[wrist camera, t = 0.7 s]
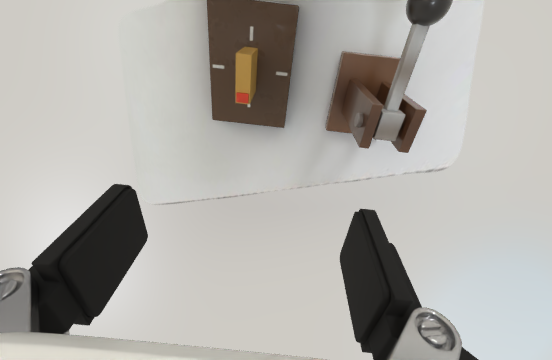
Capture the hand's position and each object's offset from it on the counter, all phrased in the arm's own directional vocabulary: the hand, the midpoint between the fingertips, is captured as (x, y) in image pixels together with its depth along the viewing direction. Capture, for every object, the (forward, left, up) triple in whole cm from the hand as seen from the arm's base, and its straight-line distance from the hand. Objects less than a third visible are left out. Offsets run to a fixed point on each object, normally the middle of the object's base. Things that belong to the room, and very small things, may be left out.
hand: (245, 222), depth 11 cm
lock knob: (-1, -3, -25) cm, 25 cm away
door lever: (-5, +12, -19) cm, 22 cm away
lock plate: (-1, -3, -27) cm, 27 cm away
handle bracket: (+1, +12, -27) cm, 29 cm away
